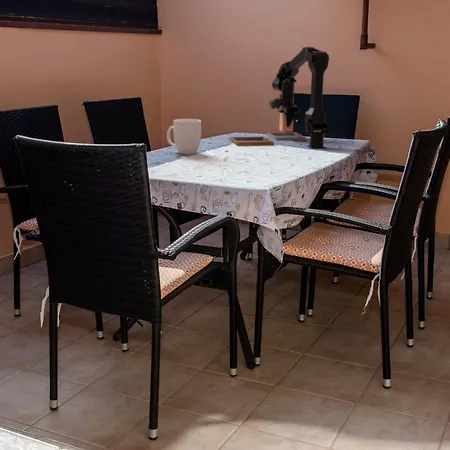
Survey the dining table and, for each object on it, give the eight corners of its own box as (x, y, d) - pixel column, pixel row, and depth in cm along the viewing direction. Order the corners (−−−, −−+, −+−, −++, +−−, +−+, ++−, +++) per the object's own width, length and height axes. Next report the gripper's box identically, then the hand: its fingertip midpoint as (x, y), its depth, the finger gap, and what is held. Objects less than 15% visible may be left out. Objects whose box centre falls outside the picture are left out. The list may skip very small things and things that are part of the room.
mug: (160, 152, 260) (159, 120, 257) (174, 149, 269) (174, 117, 266) (192, 156, 254) (192, 122, 250) (206, 152, 263) (206, 119, 259)
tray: (305, 141, 297) (305, 137, 297) (275, 141, 294) (276, 137, 294) (295, 136, 312) (295, 132, 312) (266, 136, 309) (266, 132, 309)
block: (292, 131, 300) (293, 113, 298) (282, 131, 299) (283, 114, 297) (289, 130, 305) (290, 112, 303) (279, 130, 304) (280, 112, 302)
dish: (273, 146, 280) (273, 141, 280) (237, 147, 277) (237, 142, 277) (264, 141, 295) (264, 136, 295) (229, 141, 292) (229, 137, 292)
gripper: (265, 90, 305) (264, 124, 309) (276, 93, 287) (275, 129, 291) (288, 90, 307) (287, 124, 311) (300, 93, 289) (298, 129, 293)
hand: (286, 126), depth 302 cm, fingers closed on block, 5 cm apart
